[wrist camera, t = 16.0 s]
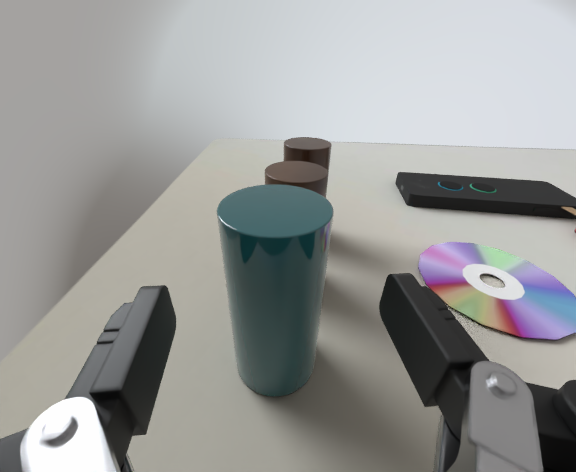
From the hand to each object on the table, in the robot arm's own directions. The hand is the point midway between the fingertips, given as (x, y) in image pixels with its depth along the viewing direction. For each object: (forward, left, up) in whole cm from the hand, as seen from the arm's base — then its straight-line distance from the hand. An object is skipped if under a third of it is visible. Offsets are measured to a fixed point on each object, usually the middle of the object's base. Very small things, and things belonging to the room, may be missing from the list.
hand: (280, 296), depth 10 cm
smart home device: (+21, +30, -8) cm, 37 cm away
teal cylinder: (-1, +2, -7) cm, 8 cm away
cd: (+15, +12, -8) cm, 21 cm away
